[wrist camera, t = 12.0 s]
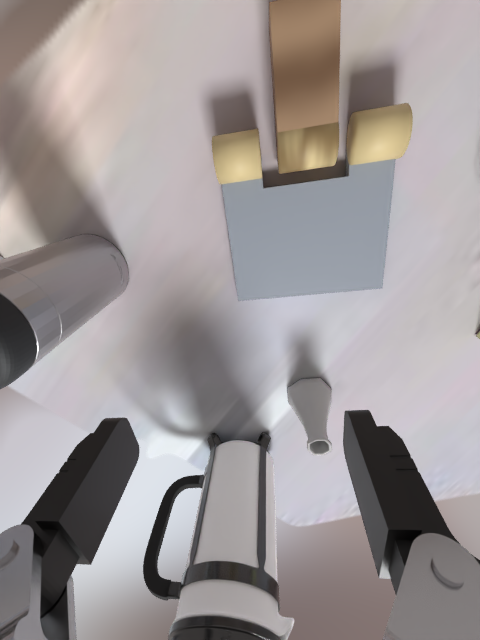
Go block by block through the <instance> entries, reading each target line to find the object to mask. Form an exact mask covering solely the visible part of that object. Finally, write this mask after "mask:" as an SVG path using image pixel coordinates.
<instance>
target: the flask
mask: <svg viewBox="0 0 480 640" xmlns="http://www.w3.org/2000/svg"><path fill="white" fill-rule="evenodd" d="M287 393H288V402H289V404H290V406H291V407H292V409H293V410H294V412H295V413H296V415H297V416H298V418H299V420H300V421H301V423H302V425H303V426H304V429H305V431H306V434H307V437H308V441H307V449H308V451H309V452H310V453H312V454H313V455H325V454H327V453H329V452H331V448H332V444H331V442H330V441H329V440H328V437H327V432H326V426H327V420H328V415H329V411H330V407H331V388H330V387H329V386H328V385H327V384H326V383H325V382H324V381H323V380H322V379H321V378H311V379H301V380H299V381H298V382H296V383H294V384H293V385H291V386H290V387H288V388H287Z"/></svg>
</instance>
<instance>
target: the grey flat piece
mask: <svg viewBox="0 0 480 640" xmlns="http://www.w3.org/2000/svg"><path fill="white" fill-rule="evenodd" d="M411 132H412V110H411V107H410V105H409V104H408V103H404V104H398V105H392V106H386V107H381V108H375V109H369V110H363V111H357V112H353V113H352V115H351V117H350V120H349V125H348V130H347V142H346V172H345V176H344V177H337V178H330V179H323V180H316V181H309V182H302V183H295V184H288V185H281V186H274V187H267V188H263V177H262V165H261V154H260V142H259V132H258V129H252V130H246V131H240V132H235V133H229V134H223V135H217V136H213V137H212V151H213V159H214V165H215V170H216V175H217V178H218V181H219V184H222V191H223V198H224V205H225V212H226V219H227V225H228V232H229V239H230V246H231V253H232V260H233V267H234V274H235V280H236V287H237V294H238V301H244V300H256V299H267V298H278V297H290V296H301V295H312V294H324V293H335V292H346V291H358V290H369V289H380V288H382V286H383V276H384V267H385V257H386V247H387V237H388V228H389V218H390V208H391V199H392V189H393V179H394V169H395V160H396V159H398V158H401V157H402V156H403V154H404V153H405V151H406V149H407V147H408V144H409V141H410V137H411Z"/></svg>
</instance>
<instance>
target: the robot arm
mask: <svg viewBox="0 0 480 640" xmlns="http://www.w3.org/2000/svg"><path fill="white" fill-rule="evenodd" d="M128 280H129V272H128V267H127V264H126V262H125V259H124V257H123V256H122V254H121V253H120V251H119V250H118V249H117V248H116V247H115V246H114V245H113V244H111V243H110V242H109V241H107V240H105V239H103V238H101V237H99V236H95V235H90V234H83V235H78V236H75V237H71V238H68V239H65V240H62V241H58V242H55V243H52V244H49V245H46V246H42V247H39V248H36V249H33V250H30V251H27V252H23V253H20V254H17V255H14V256H11V257H8V258H4V259H1V260H0V389H1V388H4V387H6V386H8V385H9V384H11V383H12V382H13V381H15V380H16V379H17V378H19V377H20V376H21V375H22V374H24V373H25V372H26V371H27V370H28V369H29V368H31V367H32V366H33V365H34V364H36V363H37V362H38V361H39V360H40V359H42V358H43V357H44V356H45V355H47V354H48V353H49V352H50V351H52V350H53V349H54V348H55V347H56V346H58V345H59V344H60V343H61V342H63V341H64V340H65V339H66V338H67V337H69V336H70V335H71V334H72V333H74V332H75V331H76V330H77V329H79V328H80V327H81V326H82V325H84V324H85V323H86V322H87V321H89V320H90V319H91V318H92V317H94V316H95V315H96V314H97V313H98V312H100V311H101V310H102V309H103V308H105V307H106V306H107V305H109V304H110V303H111V302H112V301H113V300H115V299H116V298H117V297H118V296H120V295H121V294H122V293H123V292H124V290H125V289H126V287H127V284H128ZM343 446H344V454H345V458H346V462H347V466H348V470H349V473H350V477H351V480H352V484H353V487H354V491H355V494H356V498H357V502H358V505H359V509H360V512H361V516H362V519H363V523H364V526H365V530H366V534H367V537H368V541H369V544H370V548H371V551H372V555H373V558H374V562H375V566H376V569H377V573H378V576H379V578H385V579H391V581H392V584H393V587H394V590H395V593H396V598H395V601H394V605H393V608H392V611H391V615H390V617H389V621H388V624H387V628H386V631H385V634H384V637H383V640H480V560H478V559H477V558H476V557H474V556H473V555H472V554H470V553H469V552H468V551H467V550H466V549H465V548H464V547H463V546H461V545H460V543H459V542H458V541H457V540H456V539H455V538H454V536H453V535H452V534H451V532H450V531H449V529H448V527H447V525H446V523H445V521H444V519H443V517H442V516H441V514H440V512H439V510H438V508H437V506H436V504H435V502H434V500H433V498H432V496H431V494H430V492H429V490H428V488H427V486H426V484H425V483H424V481H423V479H422V477H421V475H420V473H419V472H418V470H417V467H416V465H415V463H414V461H413V459H412V458H411V457H410V454H409V452H408V450H407V448H406V446H405V444H404V442H403V440H402V439H401V438H400V437H399V436H398V435H397V434H396V433H395V432H394V431H393V430H392V429H391V428H390V427H389V426H376V424H375V421H374V419H373V417H372V415H371V413H370V411H369V410H353V411H345V415H344V435H343ZM138 457H139V445H138V442H137V440H136V437H135V435H134V433H133V430H132V428H131V426H130V423H129V421H128V419H127V418H106V419H104V420H103V421H102V422H101V423H100V424H99V426H98V427H97V429H96V430H95V432H94V433H90V434H89V435H88V436H87V437H86V438H85V439H84V440H82V441H81V442H80V443H79V444H78V445H77V446H76V447H75V449H74V450H73V452H72V453H71V455H70V456H69V458H68V460H67V462H65V463H64V465H63V466H62V467H61V469H60V472H59V473H58V474H56V476H55V477H54V479H53V480H52V482H51V483H50V485H49V486H48V487H47V489H46V490H45V492H44V493H43V494H42V496H41V497H40V499H39V500H38V501H37V503H36V504H35V506H34V507H33V509H32V510H31V511H30V513H29V514H28V516H27V517H26V518H25V520H24V521H23V522H22V524H21V525H16V526H14V527H11V528H9V529H8V530H5V531H4V532H2V533H1V534H0V640H77V639H76V623H75V606H74V589H73V588H74V587H73V578H72V576H71V574H72V572H73V570H74V568H75V566H76V564H91V563H92V561H93V559H94V556H95V554H96V552H97V550H98V548H99V545H100V543H101V541H102V539H103V537H104V534H105V532H106V530H107V528H108V525H109V523H110V521H111V519H112V516H113V514H114V512H115V510H116V508H117V506H118V503H119V501H120V499H121V497H122V494H123V492H124V490H125V488H126V486H127V483H128V481H129V479H130V477H131V475H132V472H133V470H134V468H135V466H136V463H137V461H138Z"/></svg>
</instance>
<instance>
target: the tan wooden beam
mask: <svg viewBox="0 0 480 640" xmlns="http://www.w3.org/2000/svg"><path fill="white" fill-rule="evenodd" d="M340 13H341V0H277V1H273V2H269V34H270V50H271V65H272V81H273V97H274V112H275V128H276V143H277V158H278V170H279V174H282V173H289V172H296V171H302V170H309V169H316V168H322V167H329V166H334V165H335V163H336V160H337V155H338V148H339V123H338V115H339V64H340Z"/></svg>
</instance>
